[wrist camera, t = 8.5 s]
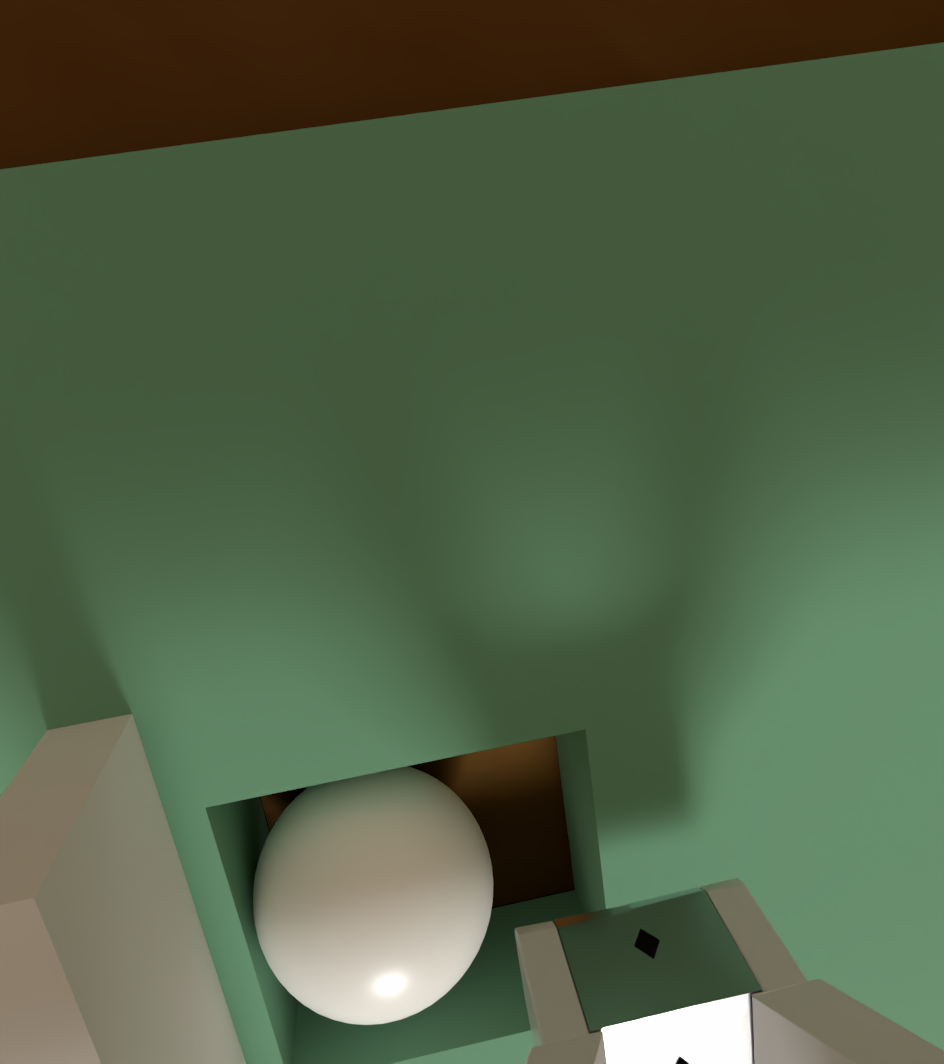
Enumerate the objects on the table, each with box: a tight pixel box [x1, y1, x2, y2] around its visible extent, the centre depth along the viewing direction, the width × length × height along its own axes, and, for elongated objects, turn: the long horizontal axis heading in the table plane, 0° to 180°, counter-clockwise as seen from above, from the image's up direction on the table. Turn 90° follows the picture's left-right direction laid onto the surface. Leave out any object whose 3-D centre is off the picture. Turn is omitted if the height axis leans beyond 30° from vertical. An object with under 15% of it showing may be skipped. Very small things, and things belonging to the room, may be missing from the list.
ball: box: [253, 766, 493, 1025], centre depth 12 cm, size 4×4×4 cm
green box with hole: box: [0, 42, 944, 1064], centre depth 11 cm, size 20×20×6 cm
